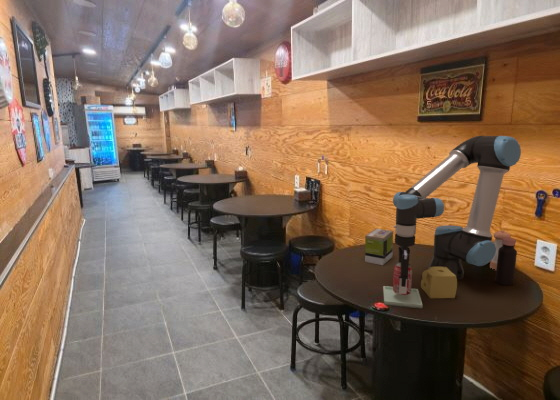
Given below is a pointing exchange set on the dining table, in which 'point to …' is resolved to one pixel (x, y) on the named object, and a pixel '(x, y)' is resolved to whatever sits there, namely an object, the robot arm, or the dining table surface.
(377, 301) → the dining table surface
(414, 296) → the tray
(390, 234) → the tea box
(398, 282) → the soda can
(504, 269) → the bottle
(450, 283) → the cheese
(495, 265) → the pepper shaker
